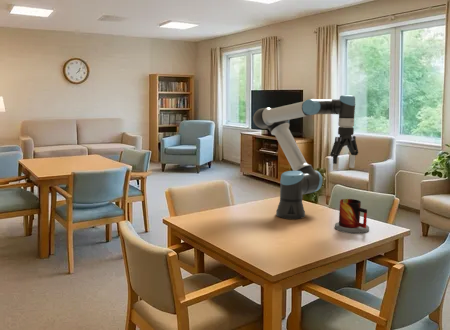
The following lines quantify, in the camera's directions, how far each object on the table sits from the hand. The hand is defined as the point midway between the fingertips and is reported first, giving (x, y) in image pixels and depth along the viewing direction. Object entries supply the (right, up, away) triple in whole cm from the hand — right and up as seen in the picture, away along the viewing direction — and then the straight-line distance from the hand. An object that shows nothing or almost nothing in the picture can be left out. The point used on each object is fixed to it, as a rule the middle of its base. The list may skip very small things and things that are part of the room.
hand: (343, 169), depth 228 cm
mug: (+2, -28, -10) cm, 29 cm away
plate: (+1, -29, -10) cm, 30 cm away
